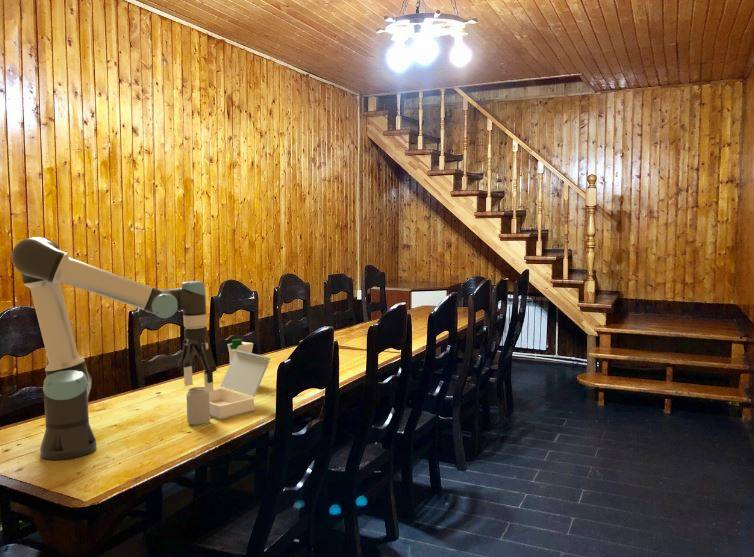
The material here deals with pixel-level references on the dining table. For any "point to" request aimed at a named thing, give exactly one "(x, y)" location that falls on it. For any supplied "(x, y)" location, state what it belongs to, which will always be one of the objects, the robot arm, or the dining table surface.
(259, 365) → the lid
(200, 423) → the can
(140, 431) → the dining table surface
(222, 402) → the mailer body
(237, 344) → the milk carton
